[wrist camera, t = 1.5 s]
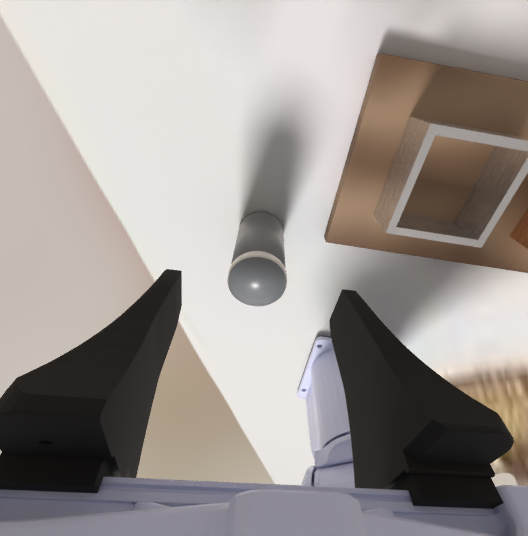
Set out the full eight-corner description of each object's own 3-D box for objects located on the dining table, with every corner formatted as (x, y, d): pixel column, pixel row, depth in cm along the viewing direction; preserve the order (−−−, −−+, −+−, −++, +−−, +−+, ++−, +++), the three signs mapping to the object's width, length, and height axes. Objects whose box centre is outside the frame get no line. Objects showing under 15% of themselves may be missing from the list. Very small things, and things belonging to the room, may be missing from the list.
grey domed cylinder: (279, 254, 26) (280, 310, 20) (236, 248, 25) (224, 302, 19) (287, 214, 24) (292, 262, 18) (241, 207, 23) (229, 253, 17)
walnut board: (580, 275, 26) (591, 282, 25) (324, 236, 24) (326, 242, 24) (715, 119, 19) (735, 121, 19) (377, 54, 18) (382, 53, 17)
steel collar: (458, 228, 23) (481, 247, 20) (373, 214, 22) (385, 232, 20) (509, 134, 19) (545, 144, 17) (409, 116, 19) (430, 123, 16)
